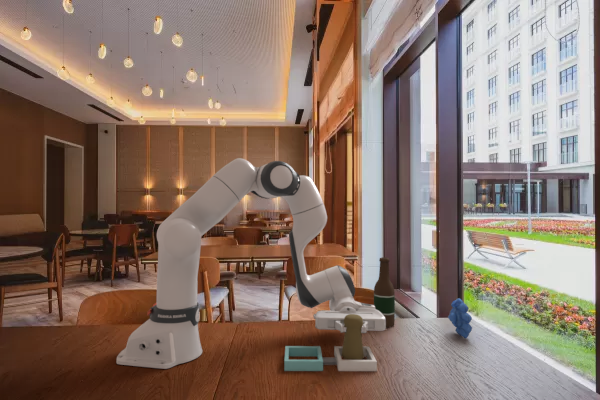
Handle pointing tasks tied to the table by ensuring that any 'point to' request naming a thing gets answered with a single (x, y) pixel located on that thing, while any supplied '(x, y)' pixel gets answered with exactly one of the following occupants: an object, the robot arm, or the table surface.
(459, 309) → the grapes
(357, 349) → the olive pawn
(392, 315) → the beer bottle
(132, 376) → the table surface
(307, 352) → the teal socket
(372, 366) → the white socket
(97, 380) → the table surface
